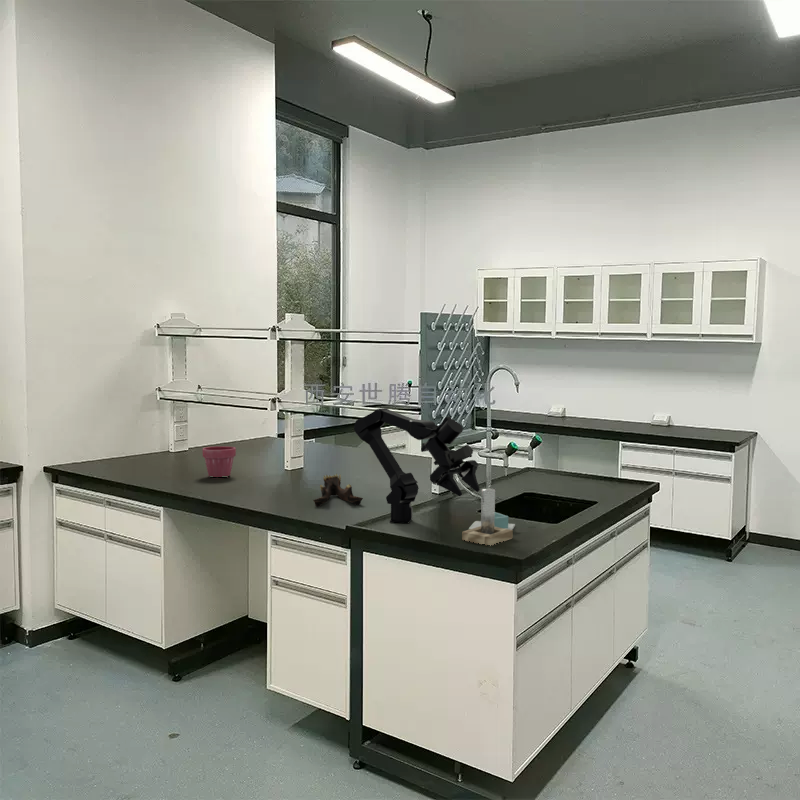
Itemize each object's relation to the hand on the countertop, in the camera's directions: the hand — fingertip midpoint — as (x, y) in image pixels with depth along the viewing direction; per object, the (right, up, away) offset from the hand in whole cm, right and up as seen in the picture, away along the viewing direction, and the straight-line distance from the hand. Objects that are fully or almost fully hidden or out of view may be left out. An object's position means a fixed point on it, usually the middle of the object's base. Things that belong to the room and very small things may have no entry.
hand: (470, 493), depth 222 cm
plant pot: (-101, -6, +99) cm, 142 cm away
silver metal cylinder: (+5, -13, -3) cm, 15 cm away
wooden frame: (+5, -13, -3) cm, 15 cm away
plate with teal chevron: (+8, -12, +10) cm, 18 cm away
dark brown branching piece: (-43, -10, +51) cm, 68 cm away
